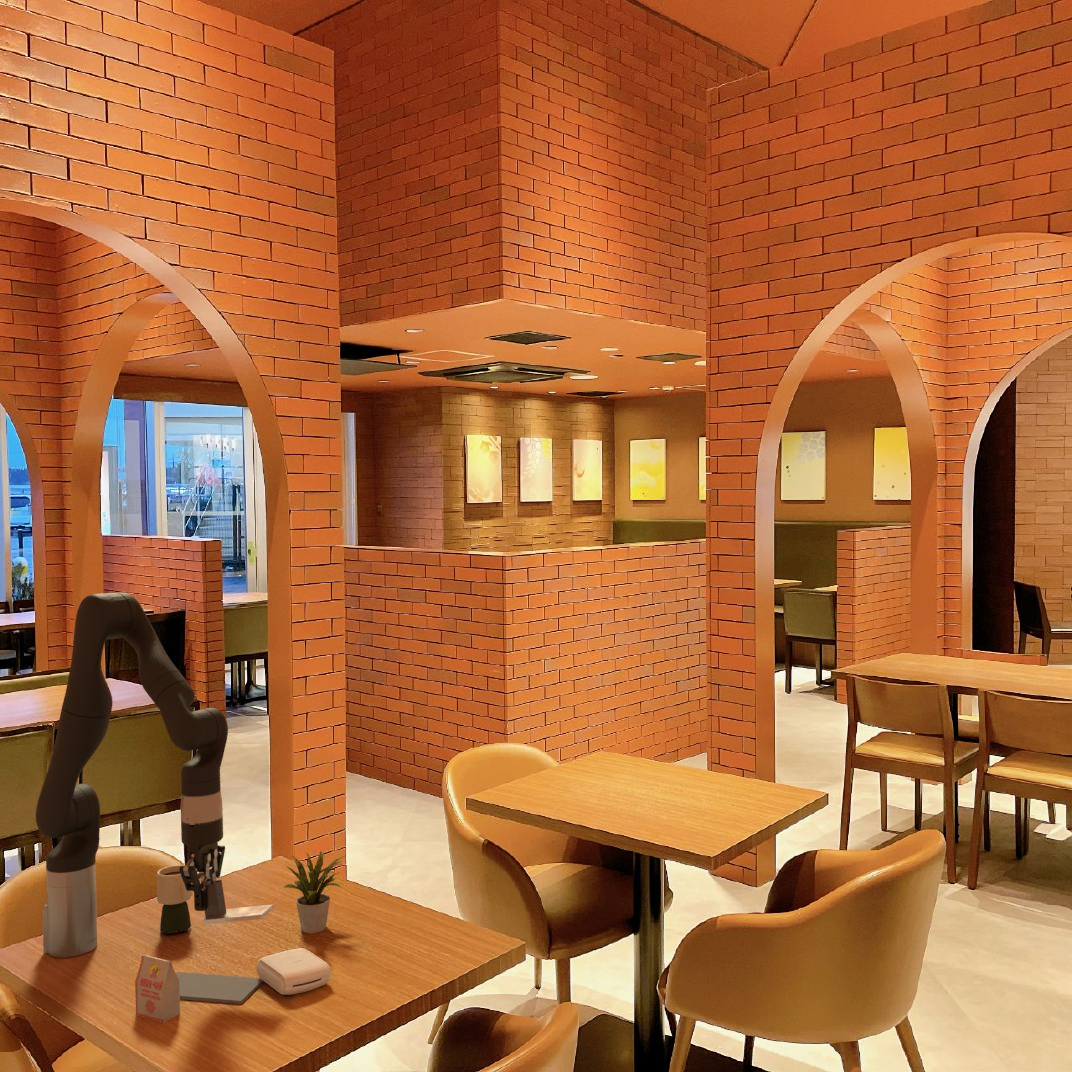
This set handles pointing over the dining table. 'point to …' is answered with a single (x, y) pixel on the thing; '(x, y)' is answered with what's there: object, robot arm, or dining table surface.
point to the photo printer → (293, 971)
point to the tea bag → (157, 989)
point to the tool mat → (216, 987)
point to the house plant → (313, 894)
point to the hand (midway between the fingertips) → (204, 906)
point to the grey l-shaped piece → (220, 914)
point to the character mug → (173, 900)
